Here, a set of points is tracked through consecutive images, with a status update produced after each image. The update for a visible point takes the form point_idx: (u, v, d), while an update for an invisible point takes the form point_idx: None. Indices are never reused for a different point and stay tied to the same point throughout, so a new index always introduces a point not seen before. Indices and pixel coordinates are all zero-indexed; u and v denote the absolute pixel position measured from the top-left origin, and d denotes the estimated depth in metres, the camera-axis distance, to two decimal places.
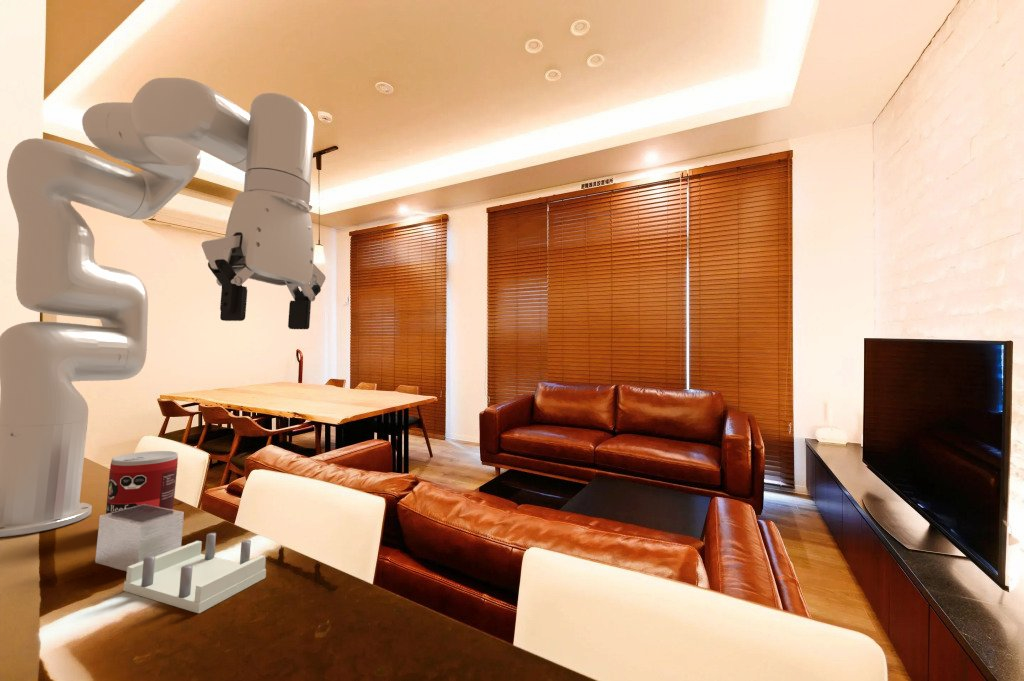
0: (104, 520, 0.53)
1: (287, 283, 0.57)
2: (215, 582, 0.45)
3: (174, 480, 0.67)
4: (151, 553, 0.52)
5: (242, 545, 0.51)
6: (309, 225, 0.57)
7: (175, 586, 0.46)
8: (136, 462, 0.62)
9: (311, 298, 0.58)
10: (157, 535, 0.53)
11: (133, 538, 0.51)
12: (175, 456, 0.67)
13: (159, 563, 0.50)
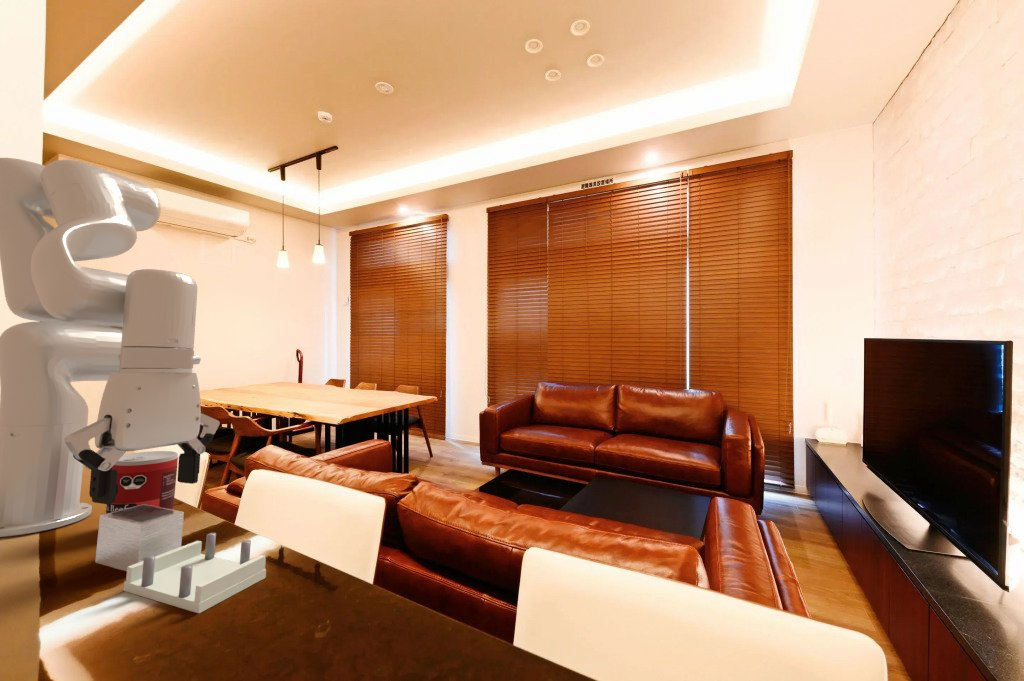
0: (104, 520, 0.53)
1: None
2: (215, 582, 0.45)
3: (174, 480, 0.67)
4: (151, 552, 0.52)
5: (242, 545, 0.51)
6: (193, 384, 0.58)
7: (175, 586, 0.46)
8: (136, 462, 0.62)
9: (200, 451, 0.60)
10: (157, 535, 0.53)
11: (133, 538, 0.51)
12: (175, 456, 0.67)
13: (159, 563, 0.50)
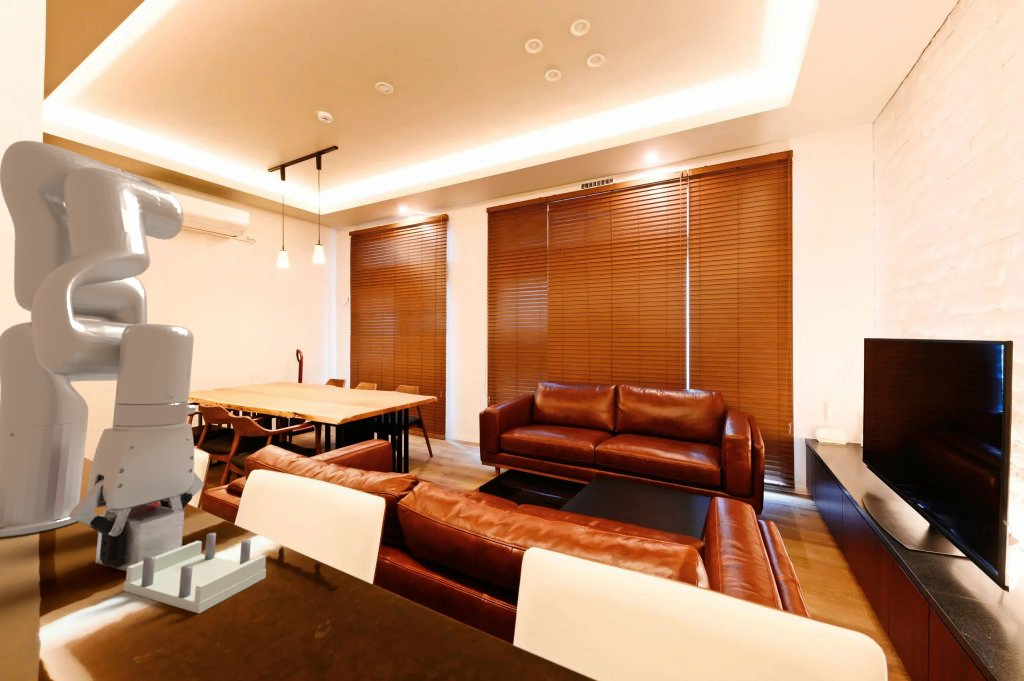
0: None
1: None
2: (215, 582, 0.45)
3: None
4: (151, 552, 0.52)
5: (242, 545, 0.51)
6: (188, 436, 0.58)
7: (175, 586, 0.46)
8: None
9: None
10: (157, 534, 0.53)
11: (134, 537, 0.51)
12: None
13: (159, 563, 0.50)
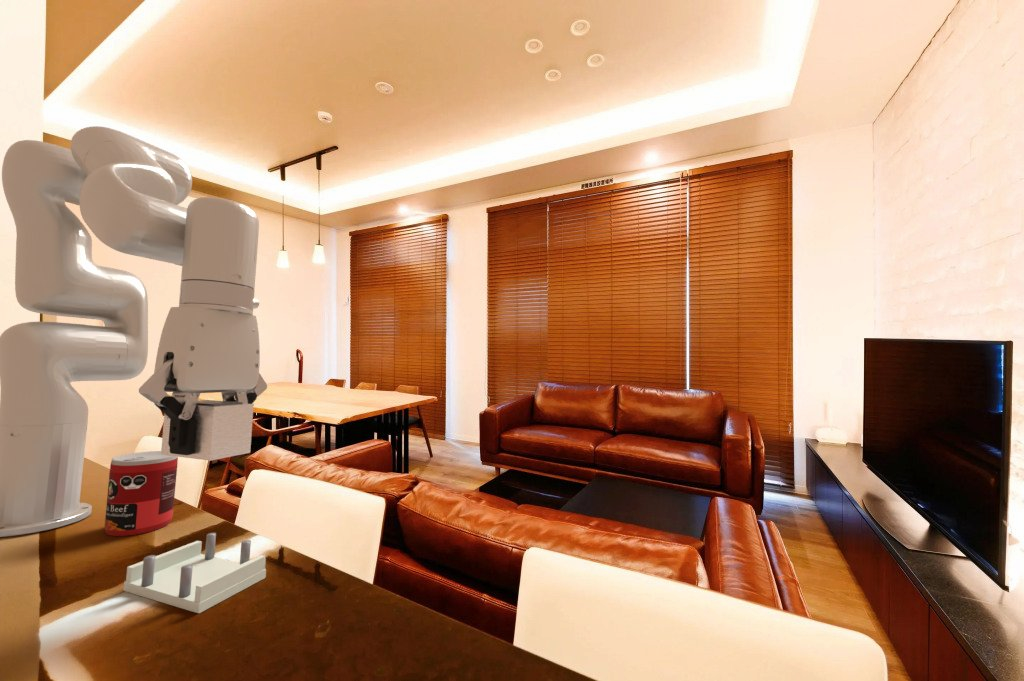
0: None
1: None
2: (215, 582, 0.45)
3: (174, 480, 0.67)
4: (223, 440, 0.48)
5: (242, 545, 0.51)
6: (254, 327, 0.54)
7: (175, 586, 0.46)
8: (136, 462, 0.62)
9: None
10: (229, 422, 0.49)
11: (205, 422, 0.47)
12: (175, 456, 0.67)
13: (159, 563, 0.50)
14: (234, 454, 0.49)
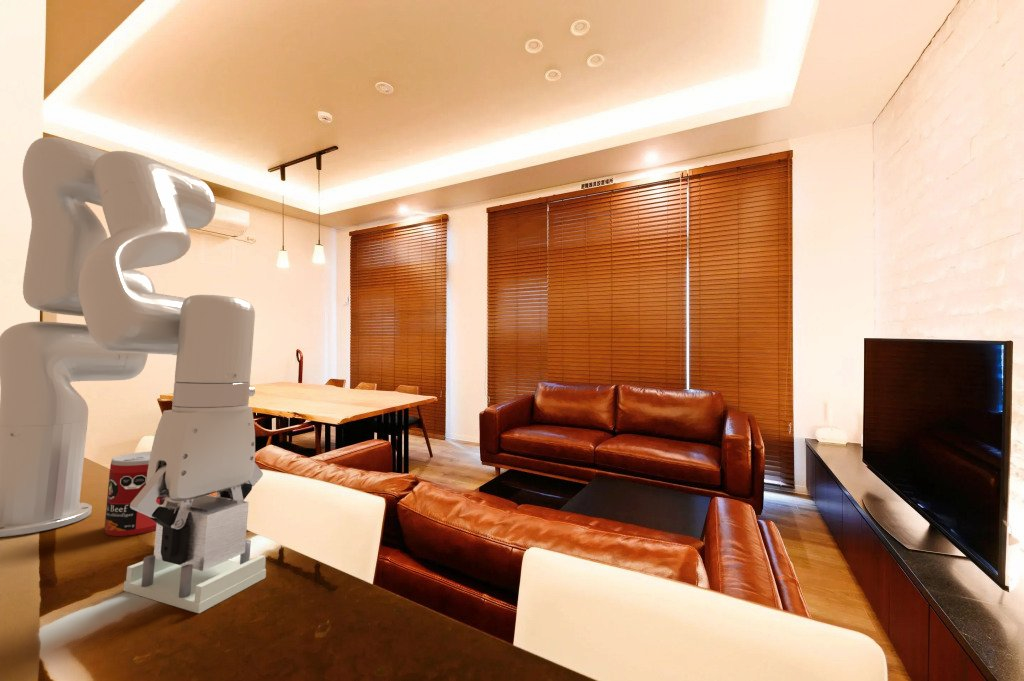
0: None
1: None
2: (215, 582, 0.45)
3: None
4: (217, 546, 0.47)
5: None
6: (249, 420, 0.53)
7: (175, 586, 0.46)
8: (136, 462, 0.62)
9: None
10: (222, 527, 0.48)
11: (199, 530, 0.46)
12: None
13: (159, 563, 0.50)
14: (228, 558, 0.48)
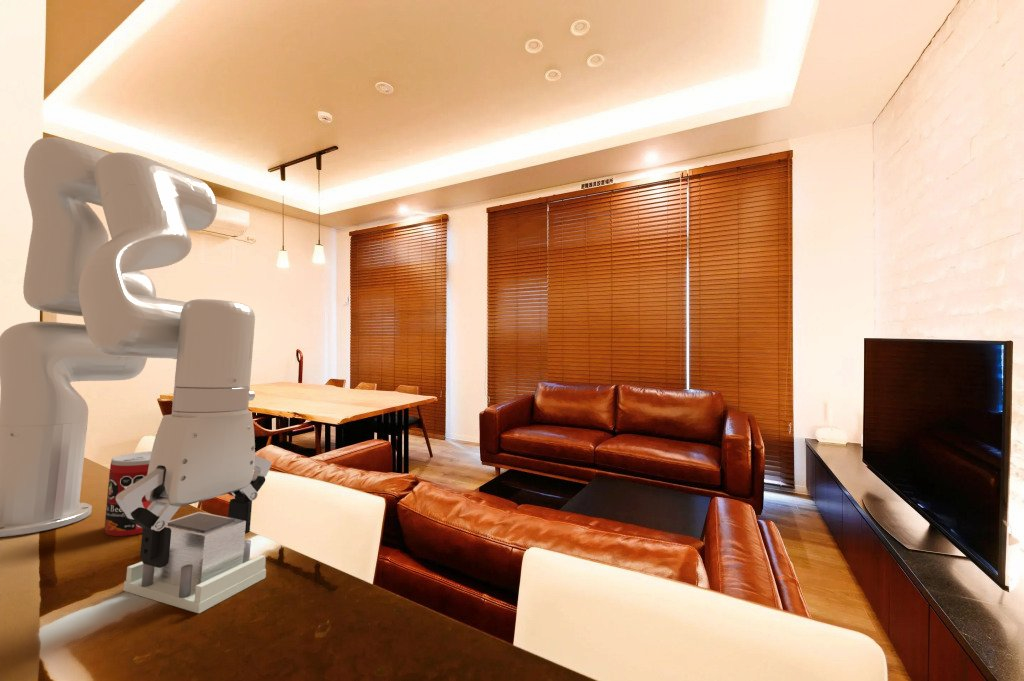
0: None
1: None
2: (215, 582, 0.45)
3: None
4: (214, 567, 0.47)
5: None
6: (249, 424, 0.53)
7: (175, 586, 0.46)
8: (136, 462, 0.62)
9: (252, 497, 0.54)
10: (220, 547, 0.48)
11: (196, 551, 0.46)
12: None
13: None
14: None
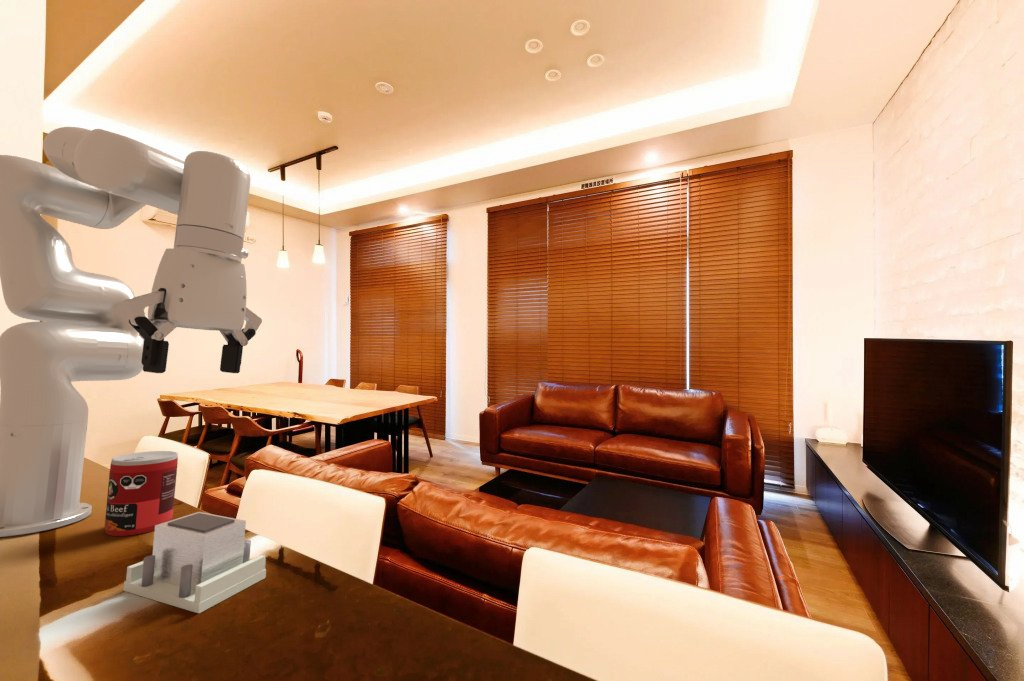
0: (160, 530, 0.48)
1: None
2: (215, 582, 0.45)
3: (174, 480, 0.67)
4: (214, 567, 0.47)
5: None
6: (242, 274, 0.59)
7: (175, 586, 0.46)
8: (136, 462, 0.62)
9: (243, 343, 0.61)
10: (220, 547, 0.48)
11: (196, 551, 0.46)
12: (175, 456, 0.67)
13: None
14: None
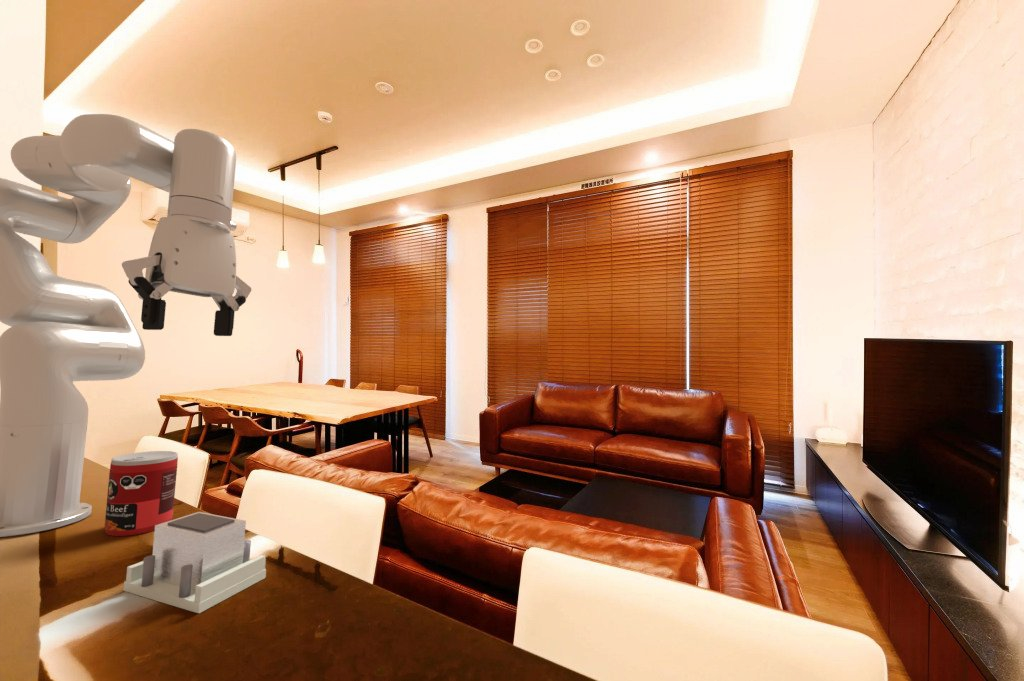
0: (160, 530, 0.48)
1: (212, 295, 0.64)
2: (215, 582, 0.45)
3: (174, 480, 0.67)
4: (214, 567, 0.47)
5: None
6: (231, 243, 0.64)
7: (175, 586, 0.46)
8: (136, 462, 0.62)
9: (235, 308, 0.65)
10: (220, 547, 0.48)
11: (196, 551, 0.46)
12: (175, 456, 0.67)
13: None
14: None
